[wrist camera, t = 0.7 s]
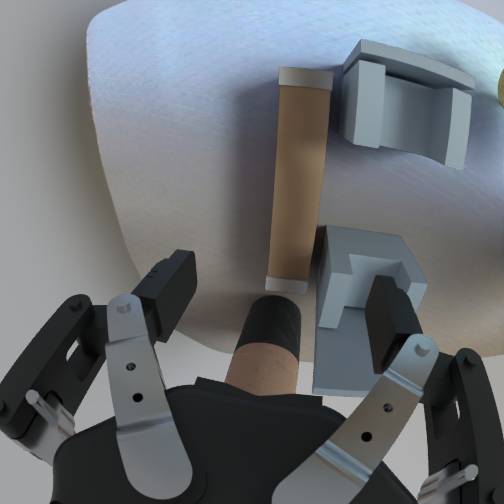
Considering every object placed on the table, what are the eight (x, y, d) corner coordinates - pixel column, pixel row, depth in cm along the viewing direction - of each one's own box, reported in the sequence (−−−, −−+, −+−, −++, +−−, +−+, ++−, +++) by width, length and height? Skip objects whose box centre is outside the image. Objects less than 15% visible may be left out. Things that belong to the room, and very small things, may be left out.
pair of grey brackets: (425, 84, 19) (525, 75, 5) (383, 289, 31) (410, 396, 18) (342, 64, 21) (383, 8, 7) (316, 281, 33) (311, 394, 19)
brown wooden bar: (327, 80, 22) (333, 71, 17) (307, 266, 32) (305, 295, 27) (285, 76, 22) (279, 66, 18) (272, 261, 33) (265, 289, 28)
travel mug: (297, 289, 34) (276, 441, 17) (307, 332, 37) (292, 466, 20) (240, 296, 36) (189, 432, 19) (256, 336, 39) (221, 460, 22)
